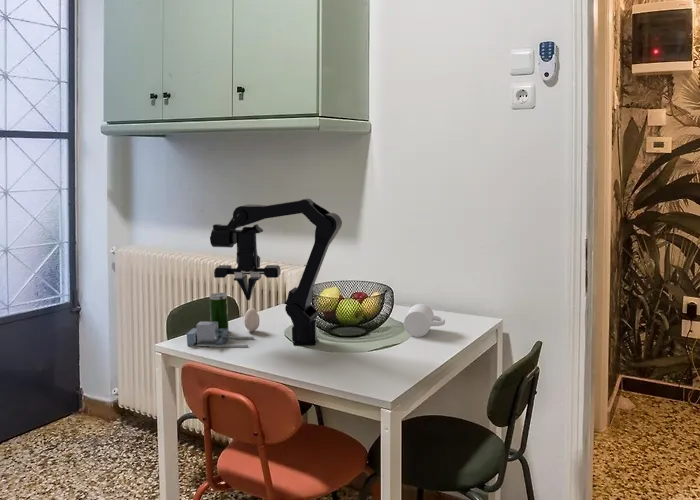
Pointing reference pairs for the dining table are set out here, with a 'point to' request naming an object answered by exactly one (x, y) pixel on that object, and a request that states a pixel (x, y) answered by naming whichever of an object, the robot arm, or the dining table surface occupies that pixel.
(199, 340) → the steel block
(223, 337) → the block
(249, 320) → the egg
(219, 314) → the green soda can
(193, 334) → the vise bed
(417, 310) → the mug
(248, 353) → the dining table surface
